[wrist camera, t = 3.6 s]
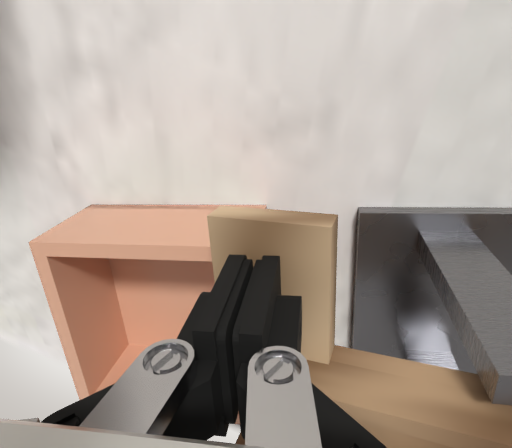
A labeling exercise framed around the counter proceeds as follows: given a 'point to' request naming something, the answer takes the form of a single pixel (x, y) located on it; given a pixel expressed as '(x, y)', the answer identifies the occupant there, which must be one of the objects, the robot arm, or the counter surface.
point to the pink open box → (123, 282)
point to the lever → (351, 360)
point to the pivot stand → (437, 290)
